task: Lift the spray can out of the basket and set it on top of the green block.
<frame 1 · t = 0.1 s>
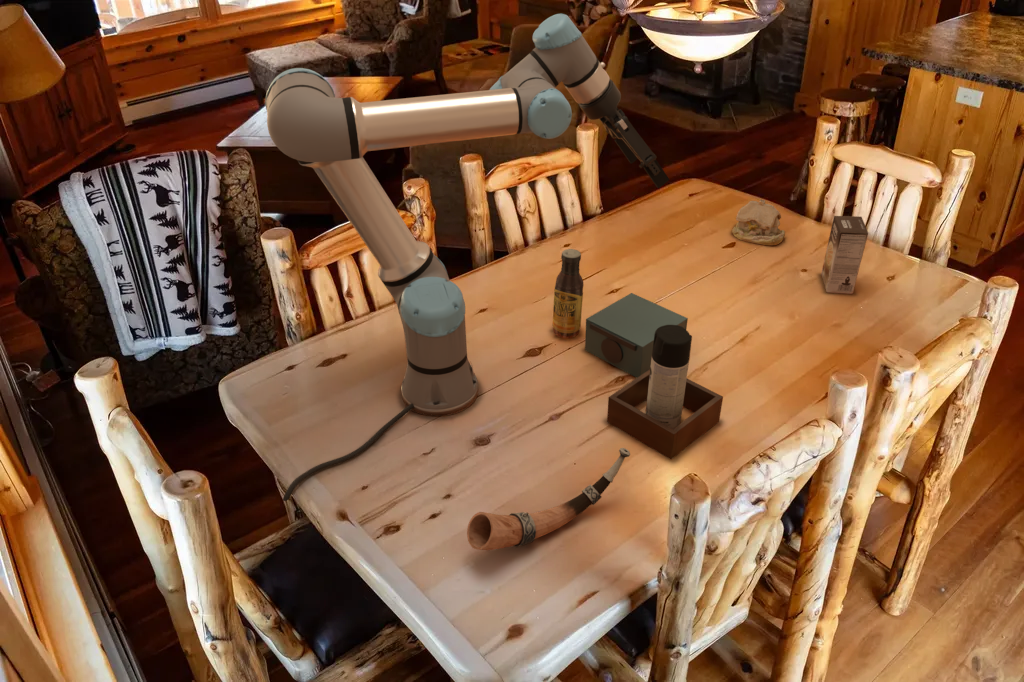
hand: (649, 171, 162), 36 cm above the table, tool tilted 35°, fingers open, 13 cm apart
drinking horn: (552, 527, 131), on the table
spray can: (662, 422, 152), resting in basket
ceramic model: (757, 235, 216), on the table
coffee box: (836, 285, 194), on the table
sauce bottle: (567, 333, 178), on the table
green block: (634, 350, 172), on the table
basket: (662, 421, 152), on the table
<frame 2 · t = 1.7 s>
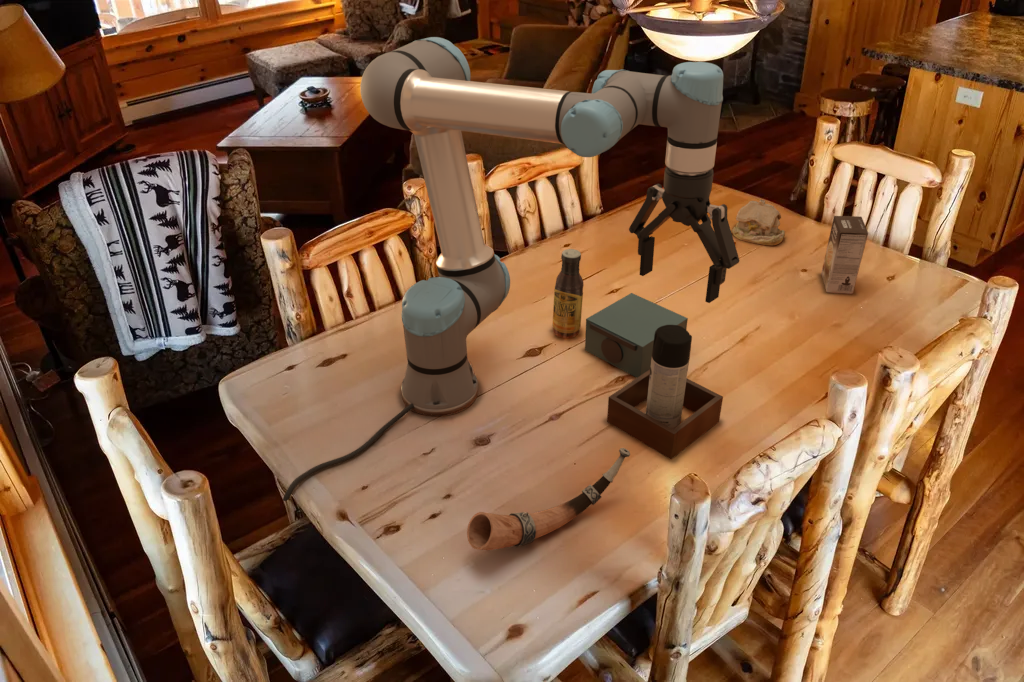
hand: (677, 285, 137), 29 cm above the table, tool pointing down, fingers open, 13 cm apart
nothing on the table moved.
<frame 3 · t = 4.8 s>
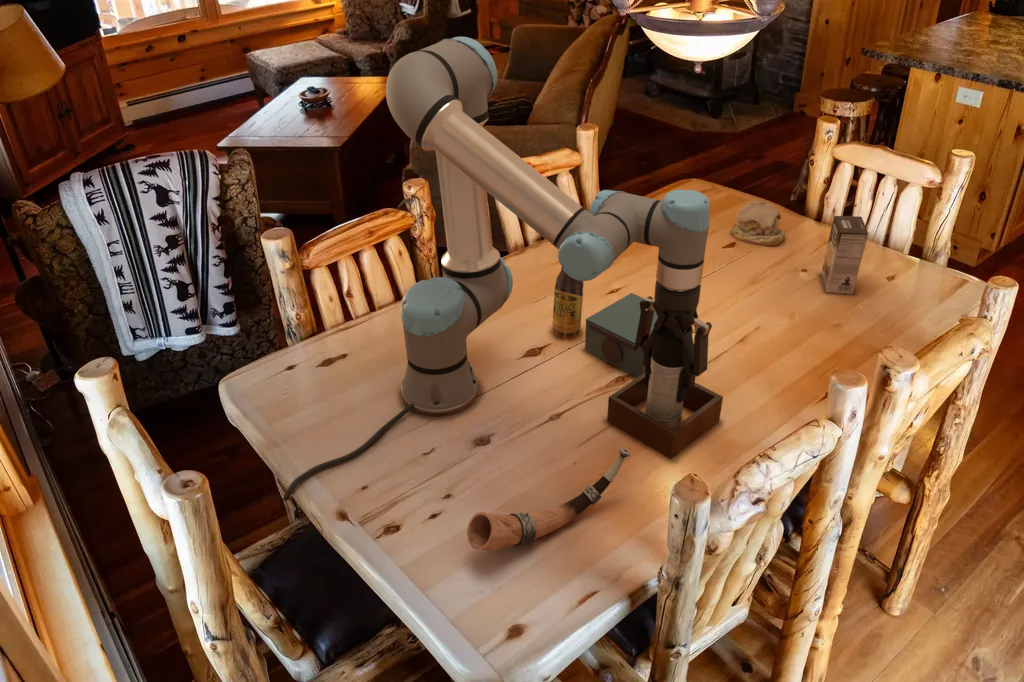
hand: (666, 390, 148), 7 cm above the table, tool pointing down, fingers closed on spray can, 7 cm apart
spray can: (662, 422, 152), resting in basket, touching gripper
everything else where it was.
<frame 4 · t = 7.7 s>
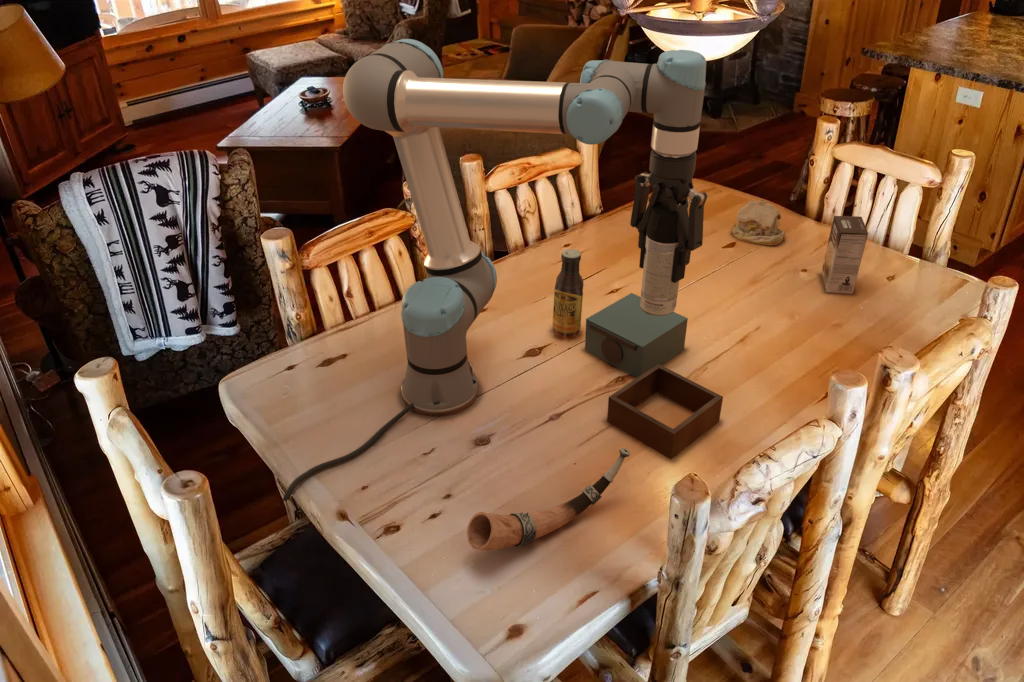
hand: (661, 272, 145), 27 cm above the table, tool pointing down, fingers closed on spray can, 7 cm apart
spray can: (657, 308, 150), point 19 cm above the table, touching gripper
everything else where it was.
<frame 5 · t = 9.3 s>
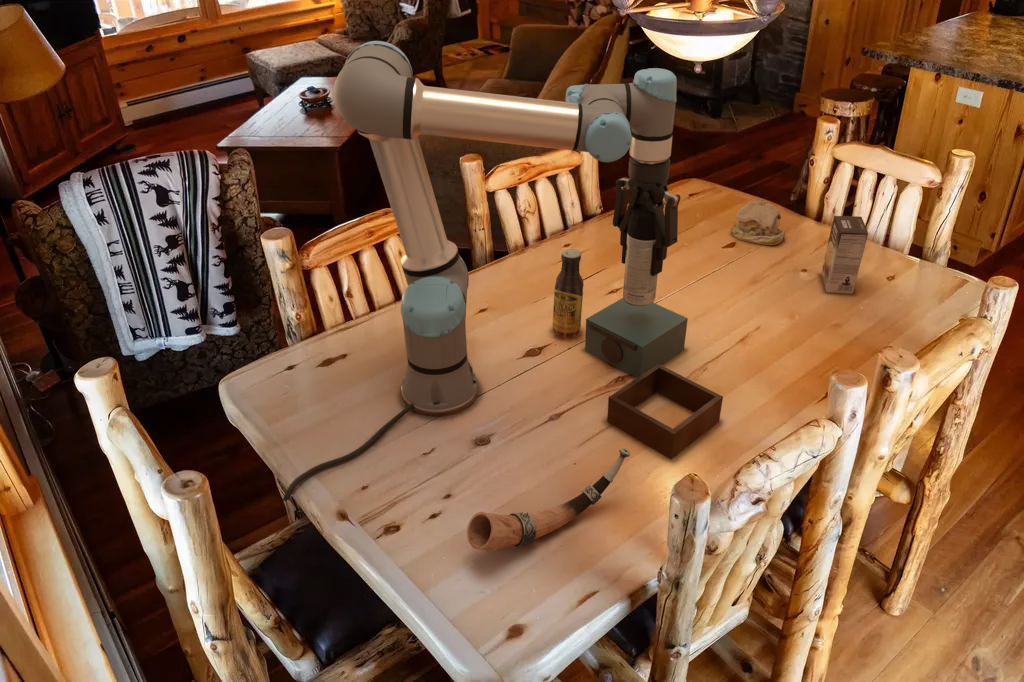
hand: (641, 266, 161), 20 cm above the table, tool pointing down, fingers closed on spray can, 7 cm apart
spray can: (639, 299, 165), point 13 cm above the table, touching gripper
everything else where it was.
when the fingers open (15 cm above the table, at t = 10.9 s): spray can stays where it is, resting on green block.
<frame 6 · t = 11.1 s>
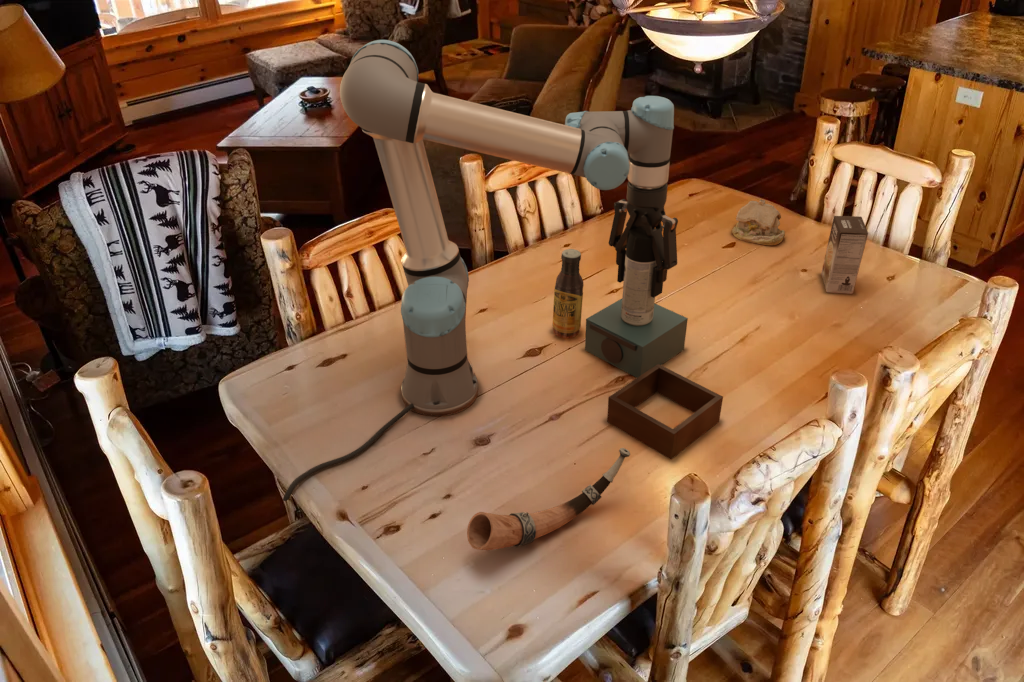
hand: (639, 287, 163), 16 cm above the table, tool pointing down, fingers open, 8 cm apart
spray can: (637, 319, 168), point 8 cm above the table, touching green block
everything else where it was.
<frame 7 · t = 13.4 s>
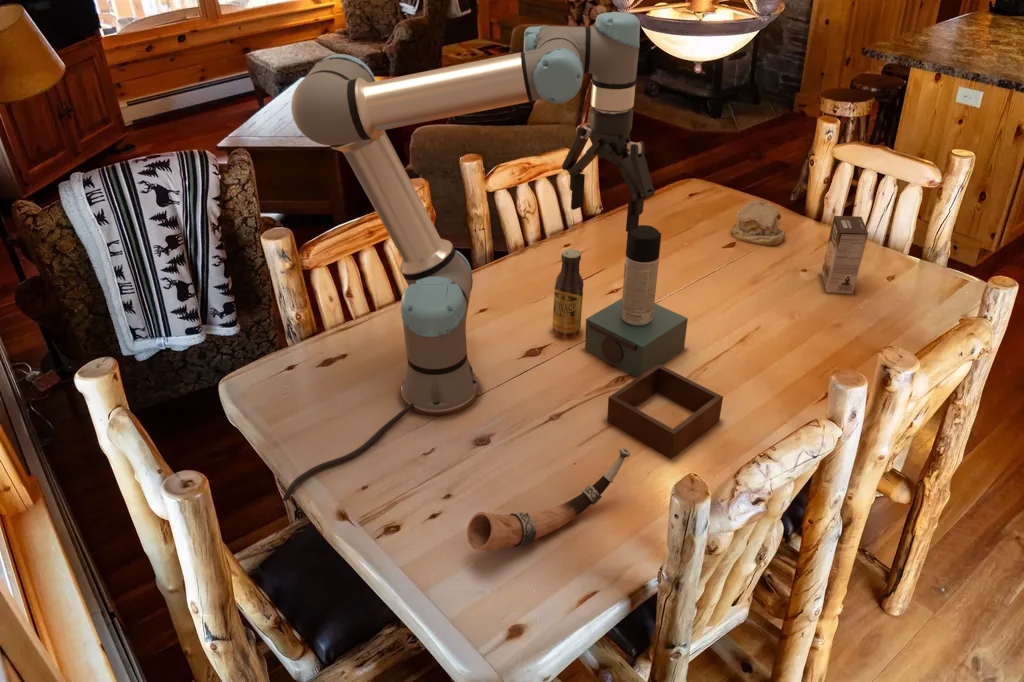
hand: (603, 218, 153), 32 cm above the table, tool pointing down, fingers open, 13 cm apart
nothing on the table moved.
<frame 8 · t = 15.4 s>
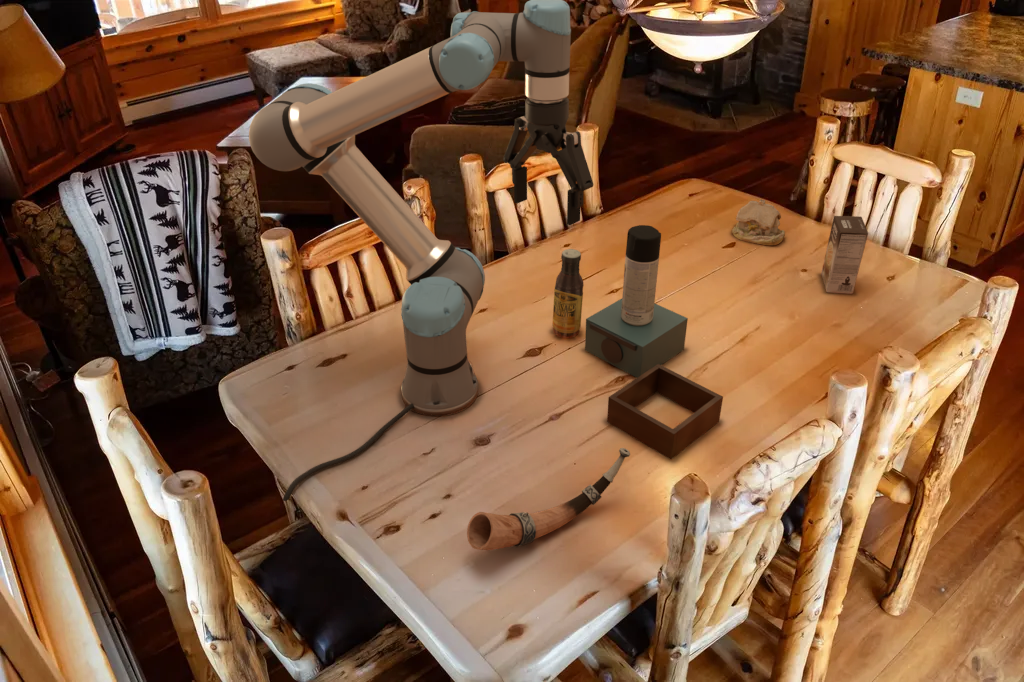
hand: (546, 211, 149), 35 cm above the table, tool pointing down, fingers open, 13 cm apart
nothing on the table moved.
at the end: spray can inside the target area on the green block (0.0 cm from its centre), point 7.8 cm above the green block's base; spray can tilted 0° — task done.
